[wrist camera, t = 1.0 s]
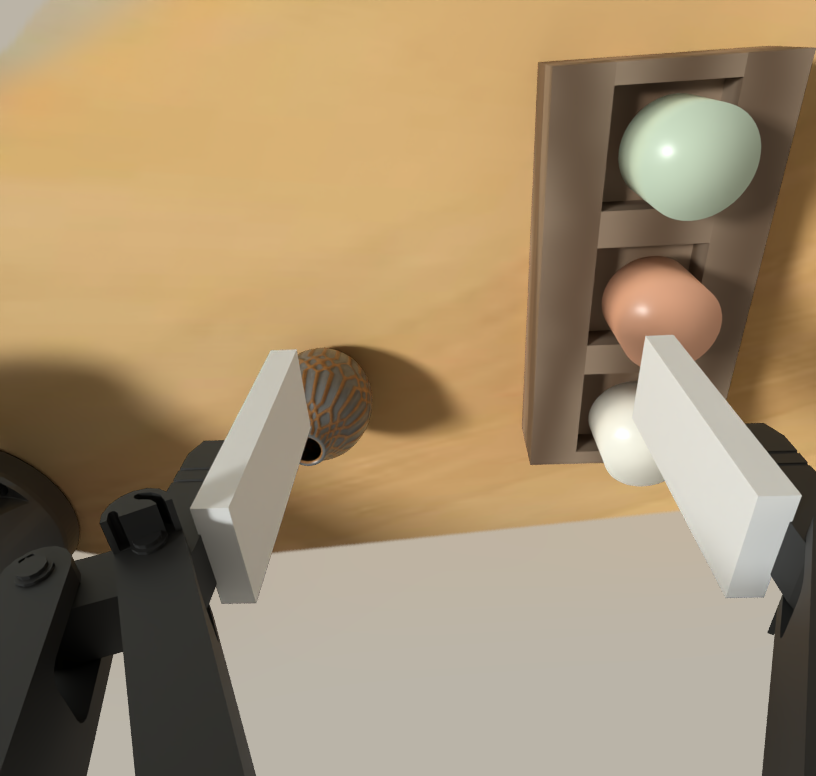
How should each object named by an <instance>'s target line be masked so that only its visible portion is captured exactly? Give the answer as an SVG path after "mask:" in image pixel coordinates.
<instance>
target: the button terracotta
mask: <svg viewBox="0 0 816 776" xmlns="http://www.w3.org/2000/svg"><path fill="white" fill-rule="evenodd" d="M602 312H603V316H604V318H605V320H606V322H607V324H608V325H609V327H610V329H611V330H612V332H613V334H614V335H615V337H616V339H617V340H618V342H619V344H620V345H621V347H622V349H623V350H624V352H625V353H626V355H627V356H628V358H629V359H630V360H631V361H632V362H634V363H635V364H637V365H638V366H641V360H642V354H643V348H644V341H645V336H655V335H674V336H675V337H676V338H677V340H678V341H679V342H680V343H681V345H682V346H683V347H684V348H685V350H686V351H687V352H688V353H689V355H690V356H691V357H692V358H693V360H694V361H695V360H697V359H698V358H700V357H701V356H702V355H703V354H705V353H706V352H707V351H708V350H709V348H710V347H711V346H712V345H713V343H714V342H715V340H716V338H717V336H718V334H719V332H720V329H721V324H722V311H721V307H720V304H719V302H718V300H717V299H716V297H715V296H714V295H713V294H712V293H711V292H710V291H709V290H708V289H707V288H706V287H705V286H704V285H703V284H701V283H700V282H699V281H698V280H697V279H696V278H695V277H694V276H693V275H692V274H691V273H690V272H689V271H688V270H686V269H685V268H684V267H683V266H682V265H681V264H680V263H678V262H677V261H675V260H673V259H671V258H668V257H664V256H647V257H642V258H639V259H636V260H634V261H632V262H630V263H628V264H626V265H625V266H623V267H622V268H621V269H619V270H618V271H617V272H616V273H615V274H614V275H613V276H612V278H611V279H610V280H609V282H608V284H607V285H606V288H605V290H604V293H603V296H602Z"/></svg>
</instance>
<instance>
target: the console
mask: <svg viewBox="0 0 816 776" xmlns="http://www.w3.org/2000/svg"><path fill="white" fill-rule="evenodd" d="M815 50H816V48H809V47H782V46H762V47H748V48H734V49H720V50H706V51H692V52H677V53H663V54H649V55H635V56H621V57H607V58H593V59H579V60H564V61H550V62H538V77H537V100H536V123H535V145H534V168H533V191H532V214H531V236H530V259H529V282H528V304H527V327H526V350H525V372H524V395H523V418H522V430H523V434H524V439H525V443H526V448H527V452H528V456H529V461H530V465H542V464H578V463H604V462H603V459H602V457H601V454H600V452H599V449H598V447H597V444H596V442H595V439H594V437H593V434H592V432H591V429H590V426H589V421H588V418H589V412H590V409H591V407H592V405H593V403H594V402H595V400H596V399H597V398H598V397H599V396H600V395H601V394H602V393H603V392H604V391H606V390H607V389H609V388H611V387H613V386H615V385H618V384H621V383H625V382H632V381H638V378H639V372H640V366H638V365H637V364H635V363H634V362H632V361H631V360H630V359H629V358H628V356H627V355H626V353H625V352H624V350H623V349H622V347H621V345H620V344H619V342H618V340H617V339H616V337H615V335H614V334H613V332H612V330H611V329H610V327H609V325H608V324H607V322H606V320H605V318H604V316H603V312H602V296H603V293H604V290H605V288H606V285H607V284H608V282H609V280H610V279H611V278H612V276H613V275H614V274H615V273H616V272H617V271H618V270H619V269H621V268H622V267H623V266H625V265H626V264H628V263H630V262H632V261H634V260H636V259H639V258H642V257H647V256H664V257H668V258H671V259H673V260H675V261H677V262H678V263H680V264H681V265H682V266H683V267H684V268H685V269H686V270H688V271H689V272H690V273H691V274H692V275H693V276H694V277H695V278H696V279H697V280H698V281H699V282H700V283H701V284H703V285H704V286H705V287H706V288H707V289H708V290H709V291H710V292H711V293H712V294H713V295H714V296H715V297H716V299H717V300H718V302H719V304H720V307H721V311H722V324H721V329H720V332H719V334H718V336H717V338H716V340H715V342H714V343H713V345H712V346H711V347H710V348H709V350H708V351H707V352H706V353H705V354H703V355H702V356H701V357H700V358H698V359H697V360H695V362H696V363H697V365H698V366H699V367H700V368H701V370H702V371H703V372H704V374H705V375H706V376H707V377H708V379H709V380H710V381H711V382H712V384H713V385H714V386H715V387H716V389H717V390H718V391H719V392H720V394H721V395H722V396H723V397H724V399H725V400H726V399H727V395H728V391H729V387H730V383H731V379H732V375H733V371H734V367H735V363H736V360H737V356H738V352H739V348H740V344H741V340H742V336H743V332H744V328H745V324H746V320H747V316H748V312H749V309H750V305H751V301H752V297H753V293H754V289H755V285H756V281H757V277H758V273H759V269H760V265H761V261H762V258H763V254H764V250H765V246H766V242H767V238H768V234H769V230H770V226H771V222H772V218H773V214H774V210H775V207H776V203H777V199H778V195H779V191H780V187H781V183H782V179H783V175H784V171H785V167H786V163H787V160H788V156H789V152H790V148H791V144H792V140H793V136H794V132H795V128H796V124H797V120H798V116H799V112H800V109H801V105H802V101H803V97H804V93H805V89H806V85H807V81H808V77H809V73H810V69H811V65H812V61H813V58H814V54H815ZM676 93H687V94H693V95H697V96H701V97H706V98H710V99H714V100H718V101H723V102H727V103H730V104H733V105H736V106H738V107H740V108H742V109H743V110H744V111H746V112H747V113H748V114H749V115H750V116H751V117H752V119H753V120H754V122H755V123H756V126H757V128H758V130H759V134H760V138H761V155H760V161H759V164H758V168H757V170H756V173H755V175H754V177H753V179H752V181H751V183H750V184H749V186H748V187H747V188H746V190H745V191H744V192H743V193H742V195H741V196H740V197H739V198H738V199H737V200H736V201H735V202H734V203H732V204H731V205H730V206H728V207H727V208H726V209H724V210H722V211H721V212H719V213H717V214H715V215H713V216H710V217H707V218H704V219H700V220H694V221H681V220H675V219H672V218H669V217H667V216H665V215H663V214H662V213H660V212H659V211H657V210H656V209H655V208H654V207H652V206H651V205H650V204H649V203H647V202H646V201H645V200H643V199H642V198H641V197H640V196H638V195H637V194H636V193H635V192H633V191H632V190H631V189H630V188H629V187H628V186H627V184H626V183H625V181H624V180H623V178H622V175H621V173H620V169H619V162H618V155H619V147H620V143H621V140H622V137H623V134H624V132H625V130H626V128H627V127H628V125H629V123H630V122H631V121H632V119H633V118H634V117H635V116H636V115H637V113H638V112H639V111H641V110H642V109H643V108H644V107H645V106H647V105H648V104H649V103H651V102H653V101H655V100H656V99H658V98H661V97H663V96H666V95H670V94H676Z"/></svg>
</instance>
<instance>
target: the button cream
mask: <svg viewBox="0 0 816 776" xmlns="http://www.w3.org/2000/svg"><path fill="white" fill-rule="evenodd" d="M637 384H638V381H632V382H625V383H621V384H618V385H615V386H613V387H611V388H609V389H607V390H606V391H604V392H603V393H602V394H601V395H600V396H599V397H598V398H597V399H596V400H595V402H594V403H593V405H592V407H591V409H590V412H589V418H588V421H589V426H590V429H591V432H592V434H593V437H594V439H595V442H596V444H597V447H598V449H599V452H600V454H601V457H602V459H603V462H604V464H605V467H606V469H607V471H608V472H609V474H610V475H611V476H612V477H613V478H615V479H616V480H617V481H619V482H621V483H624V484H627V485H631V486H649V485H654V484H658V483H661V482H664V481H665V480H664V478H663V476H662V474H661V473H660V471H659V469H658V467H657V465H656V463H655V461H654V459H653V457H652V455H651V453H650V451H649V449H648V447H647V446H646V444H645V442H644V440H643V438H642V436H641V434H640V432H639V430H638V428H637V426H636V424H635V422H634V420H633V419H632V415H633V409H634V403H635V397H636V391H637Z"/></svg>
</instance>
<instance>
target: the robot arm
mask: <svg viewBox="0 0 816 776" xmlns="http://www.w3.org/2000/svg"><path fill="white" fill-rule="evenodd" d="M632 419H633V420H634V422H635V424H636V426H637V428H638V430H639V432H640V434H641V436H642V438H643V440H644V442H645V444H646V446H647V447H648V449H649V451H650V453H651V455H652V457H653V459H654V461H655V463H656V465H657V467H658V469H659V471H660V473H661V474H662V476H663V478H664V480H665V482H666V484H667V486H668V488H669V490H670V492H671V494H672V496H673V498H674V499H675V501H676V503H677V505H678V507H679V509H680V511H681V513H682V515H683V517H684V519H685V521H686V523H687V525H688V526H689V528H690V530H691V532H692V534H693V536H694V538H695V540H696V542H697V544H698V546H699V548H700V549H701V551H702V553H703V555H704V557H705V559H706V561H707V563H708V565H709V567H710V569H711V571H712V573H713V575H714V576H715V578H716V580H717V582H718V584H719V586H720V588H721V590H722V592H723V594H724V596H725V597H726V598H747V597H749V598H752V597H764V596H765V593H766V590H767V588H768V585H769V582H770V580H771V577H772V578H773V580H774V581H775V583H776V584H777V586H778V588H779V589H780V591H781V592H782V594H783V595H782V597H781V600H780V602H779V605H778V608H777V610H776V613H775V615H774V618H773V620H772V623H771V625H770V627H769V630H768V633H769V634H772V635H774V634H775V637H774V649H773V660H772V672H771V682H770V694H769V704H768V715H767V726H766V738H765V748H764V759H763V770H762V776H816V471H815V470H814V469H813V468H812V467H811V466H810V465H808V464H807V463H808V462H807V461H806V460H805V459H804V458H803V457H802V455H801V454H800V453H797V450H796V449H795V447H794V446H793V445H792V444H791V443H790V442H789V441H788V439H787V438H786V437H785V436H784V435H782V434H781V433H779V432H777V431H776V430H774V429H773V428H771V427H769V426H768V425H766V424H765V423H750V424H744V422H743V421H742V420H741V419H740V417H739V416H738V415H737V414H736V412H735V411H734V410H733V409H732V407H731V406H730V405H729V404H728V402H727V401H726V400H725V399H724V397H723V396H722V395H721V394H720V392H719V391H718V390H717V389H716V387H715V386H714V385H713V384H712V382H711V381H710V380H709V379H708V377H707V376H706V375H705V374H704V372H703V371H702V370H701V368H700V367H699V366H698V365H697V363H696V362H695V361H694V360H693V358H692V357H691V356H690V355H689V353H688V352H687V351H686V350H685V348H684V347H683V346H682V345H681V343H680V342H679V341H678V340H677V338H676V337H675V336H674V335H655V336H645V341H644V348H643V354H642V360H641V366H640V372H639V378H638V384H637V391H636V397H635V403H634V409H633V415H632ZM310 428H311V427H310V421H309V416H308V410H307V404H306V399H305V393H304V388H303V382H302V377H301V371H300V365H299V360H298V354H297V349H296V350H271V351H270V353H269V355H268V357H267V359H266V361H265V363H264V364H263V366H262V368H261V370H260V372H259V374H258V376H257V378H256V380H255V382H254V384H253V386H252V388H251V390H250V392H249V394H248V396H247V398H246V400H245V402H244V404H243V406H242V408H241V409H240V411H239V413H238V415H237V417H236V419H235V421H234V423H233V425H232V427H231V429H230V431H229V433H228V435H227V437H226V439H225V440H219V441H203V442H202V443H201V444H200V445H199V446H197V447H196V448H195V449H194V450H193V451H191V452H190V453H189V454H188V456H187V457H186V459H185V461H184V463H183V464H182V466H181V468H180V471H178V473H177V475H176V476H175V478H174V482H173V483H171V485H170V487H169V488H168V490H167V492H166V491H163V490H161V489H152V488H146V489H141V490H137V491H133V492H130V493H128V494H126V495H124V496H121V497H120V498H118V499H117V500H115V501H114V502H113V503H111V504H110V505H109V506H108V507H107V508H106V510H105V511H104V512H103V513H102V515H101V520H100V525H101V528H102V530H103V532H104V534H105V536H106V539H107V541H108V543H109V545H110V547H111V550H112V551H110V552H107V553H103V554H99V555H96V556H92V557H88V558H84V559H80V560H76V561H74V559H73V557H72V554H73V553H74V551H75V549H76V547H77V545H78V541H79V525H78V521H77V518H76V515H75V512H74V510H73V508H72V506H71V505H70V503H69V502H68V500H67V499H66V497H65V496H64V495H63V493H62V492H61V491H60V490H59V489H58V488H57V487H56V486H55V485H54V484H53V483H52V482H51V481H50V480H49V479H48V478H46V477H45V476H44V475H43V474H41V473H40V472H39V471H37V470H36V469H34V468H33V467H31V466H30V465H28V464H27V463H25V462H23V461H21V460H19V459H17V458H15V457H13V456H11V455H9V454H7V453H4V452H2V451H0V776H87V771H88V767H89V762H90V757H91V753H92V748H93V744H94V740H95V735H96V731H97V726H98V721H99V717H100V712H101V708H102V703H103V699H104V694H105V690H106V685H107V681H108V676H109V672H110V667H111V663H112V658H113V654H117V653H120V652H123V654H124V665H125V675H126V685H127V695H128V705H129V716H130V726H131V736H132V746H133V757H134V767H135V776H256V774H255V770H254V766H253V763H252V759H251V755H250V752H249V748H248V744H247V740H246V736H245V733H244V729H243V725H242V721H241V718H240V714H239V710H238V706H237V703H236V699H235V695H234V692H233V688H232V684H231V680H230V676H229V673H228V669H227V665H226V661H225V658H224V654H223V650H222V647H221V643H220V639H219V636H218V632H217V628H216V624H215V620H214V617H213V613H212V611H211V608H210V605H209V602H210V600H211V597H212V595H213V592H214V590H215V587H216V588H217V591H218V594H219V597H220V600H221V603H222V604H225V603H229V604H231V603H256V602H257V599H258V596H259V593H260V589H261V586H262V583H263V580H264V576H265V573H266V570H267V567H268V563H269V560H270V557H271V554H272V551H273V547H274V544H275V541H276V538H277V534H278V531H279V528H280V525H281V522H282V518H283V515H284V512H285V509H286V505H287V502H288V499H289V496H290V493H291V489H292V486H293V483H294V480H295V476H296V473H297V470H298V467H299V463H300V460H301V457H302V454H303V451H304V447H305V444H306V441H307V438H308V434H309V431H310Z"/></svg>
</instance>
